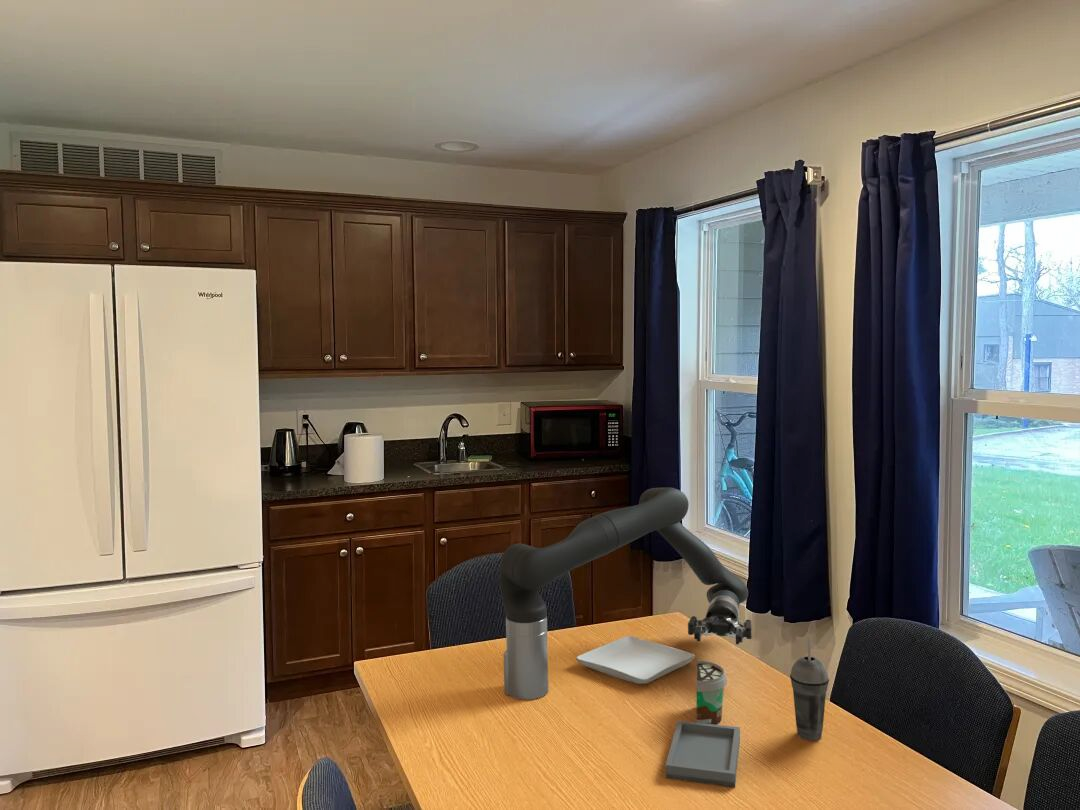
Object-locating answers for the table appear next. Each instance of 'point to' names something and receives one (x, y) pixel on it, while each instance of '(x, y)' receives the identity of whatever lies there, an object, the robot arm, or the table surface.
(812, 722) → the beverage cup
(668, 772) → the tray
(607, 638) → the table surface
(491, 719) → the table surface
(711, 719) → the food container
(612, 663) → the salad plate
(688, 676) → the table surface
